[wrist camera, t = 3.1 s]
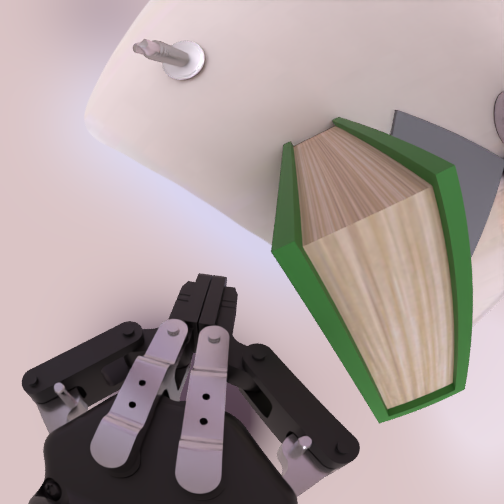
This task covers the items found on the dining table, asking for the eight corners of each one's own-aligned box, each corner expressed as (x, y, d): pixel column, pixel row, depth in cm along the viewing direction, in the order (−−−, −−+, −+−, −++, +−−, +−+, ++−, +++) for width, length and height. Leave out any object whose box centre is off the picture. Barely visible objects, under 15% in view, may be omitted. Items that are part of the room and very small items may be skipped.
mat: (503, 159, 26) (505, 160, 25) (454, 286, 38) (455, 288, 38) (395, 109, 26) (397, 110, 26) (351, 274, 39) (352, 276, 38)
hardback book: (283, 144, 30) (271, 251, 10) (338, 117, 27) (455, 165, 7) (344, 259, 37) (379, 423, 17) (391, 237, 34) (464, 389, 14)
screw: (161, 70, 26) (183, 37, 24) (193, 87, 27) (216, 54, 25) (101, 62, 15) (132, 10, 12) (145, 83, 16) (180, 29, 14)
